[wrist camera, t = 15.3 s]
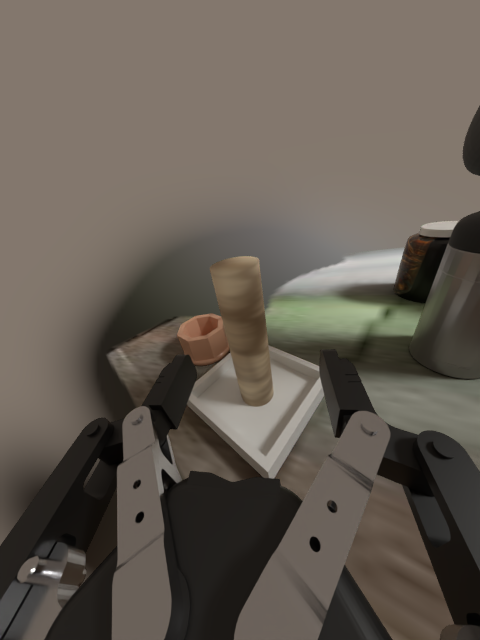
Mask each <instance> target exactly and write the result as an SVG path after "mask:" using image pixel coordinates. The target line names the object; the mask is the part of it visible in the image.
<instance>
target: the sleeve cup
mask: <svg viewBox="0 0 480 640" xmlns="http://www.w3.org/2000/svg"><path fill="white" fill-rule="evenodd" d="M177 336H178V339H179V341H180V344H181V346H182V349H183V351H184V355H187V354H188V355H190V357H191V359H192V362H193V364H194V365H197V366H205V365H210V364H213V363H216V362H218V361H220V360H221V359H223V358H224V357H225V356H226V355H227V354H228V352H229V351H230V348H229V344H228V340H227V336H226V332H225V328H224V324H223V320H222V317H220V316H217V315H214V314H206V315H200V316H195V317H193V318H191V319H190V320H188V321H186V322H185V323H183V324H181V326H180V329H179V331H178V334H177Z"/></svg>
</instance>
